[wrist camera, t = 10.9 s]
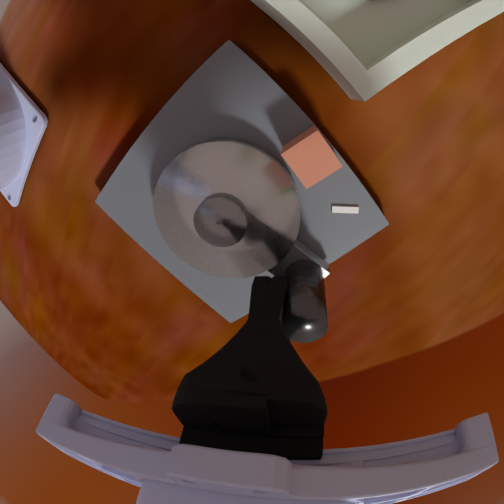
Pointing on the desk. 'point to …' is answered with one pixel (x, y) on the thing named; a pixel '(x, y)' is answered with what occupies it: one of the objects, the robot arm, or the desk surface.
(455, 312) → the desk surface
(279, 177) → the crank
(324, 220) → the crank base
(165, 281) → the desk surface
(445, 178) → the desk surface
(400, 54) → the tray
